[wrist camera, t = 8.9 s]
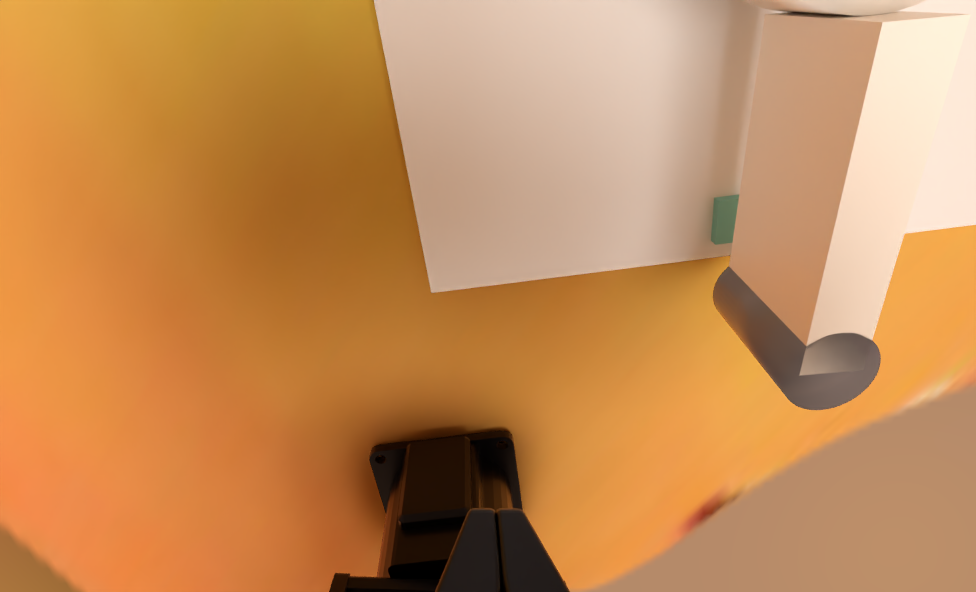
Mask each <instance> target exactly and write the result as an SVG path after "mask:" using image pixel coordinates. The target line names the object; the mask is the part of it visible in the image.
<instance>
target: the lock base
mask: <svg viewBox="0 0 976 592" xmlns="http://www.w3.org/2000/svg"><path fill="white" fill-rule="evenodd" d="M374 4H375V9H376V14H377V20H378V25H379V30H380V35H381V40H382V45H383V50H384V55H385V60H386V65H387V70H388V75H389V81H390V86H391V91H392V96H393V101H394V106H395V111H396V116H397V121H398V126H399V131H400V136H401V141H402V147H403V152H404V157H405V162H406V167H407V172H408V177H409V182H410V187H411V192H412V197H413V202H414V207H415V213H416V218H417V223H418V228H419V233H420V238H421V243H422V248H423V253H424V258H425V263H426V268H427V273H428V279H429V284H430V289H431V293H436V292H444V291H452V290H460V289H468V288H475V287H483V286H491V285H499V284H507V283H515V282H523V281H531V280H539V279H547V278H555V277H563V276H571V275H579V274H587V273H595V272H603V271H611V270H619V269H627V268H635V267H642V266H650V265H658V264H666V263H674V262H682V261H690V260H698V259H706V258H714V257H722V256H730V255H731V249H732V242H733V235H734V228H735V221H736V214H737V207H738V200H739V193H740V186H741V179H742V172H743V165H744V158H745V151H746V144H747V137H748V130H749V123H750V116H751V109H752V102H753V95H754V88H755V81H756V74H757V67H758V60H759V53H760V46H761V39H762V32H763V25H764V18H765V14H772V13H783V12H781V11H774V10H767V9H763V8H760V7H757V6H753V5H751V4H749V3H747V2H745V1H743V0H374ZM898 11H907V12H931V13H956V14H971V16H970V19H969V22H968V26H967V29H966V32H965V35H964V39H963V42H962V45H961V49H960V52H959V55H958V59H957V62H956V65H955V68H954V72H953V75H952V78H951V82H950V85H949V88H948V92H947V95H946V98H945V101H944V105H943V108H942V111H941V115H940V118H939V121H938V124H937V128H936V131H935V134H934V138H933V141H932V144H931V148H930V151H929V154H928V157H927V161H926V164H925V167H924V171H923V174H922V177H921V181H920V184H919V187H918V190H917V194H916V197H915V200H914V204H913V207H912V210H911V214H910V217H909V220H908V223H907V227H906V230H905V233H913V232H921V231H929V230H937V229H945V228H953V227H961V226H969V225H976V0H926V1H924V2H921V3H919V4H917V5H914V6H912V7H908V8H905V9H902V10H898ZM905 233H904V234H905Z"/></svg>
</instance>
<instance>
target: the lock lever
mask: <svg viewBox="0 0 976 592" xmlns="http://www.w3.org/2000/svg"><path fill="white" fill-rule="evenodd" d="M743 1H745V2H747V3H749V4H751V5H753V6H757V7H760V8H763V9H767V10H774V11H781V12H783V13H772V14H765V18H764V25H763V32H762V39H761V46H760V53H759V60H758V67H757V74H756V81H755V88H754V95H753V102H752V109H751V116H750V123H749V130H748V137H747V144H746V151H745V158H744V165H743V172H742V179H741V186H740V193H739V200H738V207H737V214H736V221H735V228H734V235H733V242H732V249H731V256H730V263H729V267H728V268H727V269H726V270H725V271H724V272H723V273H722V274H721V275H720V277H719V278H718V280H717V282H716V284H715V287H714V291H713V301H714V305H715V307H716V309H717V310H718V311H719V313H720V314H721V315H722V316H723V318H724V319H725V320H726V322H727V323H728V324H729V325H730V327H731V328H732V329H733V330H734V332H735V333H736V334H737V335H738V337H739V338H740V339H741V340H742V342H743V343H744V344H745V345H746V347H747V348H748V349H749V350H750V352H751V353H752V354H753V355H754V357H755V358H756V359H757V361H758V362H759V363H760V364H761V366H762V367H763V368H764V369H765V371H766V372H767V373H768V374H769V376H770V377H771V378H772V379H773V381H774V382H775V383H776V384H777V386H778V387H779V388H780V389H781V391H782V392H783V393H784V394H785V396H786V397H787V398H788V399H789V400H790V401H791V402H792V403H793V404H795V405H796V406H798V407H801V408H804V409H809V410H823V409H829V408H834V407H837V406H840V405H842V404H844V403H847V402H848V401H850V400H852V399H854V398H855V397H857V396H858V395H859V394H861V393H862V392H863V391H864V390H865V389H866V388H867V387H868V386H869V385H870V384H871V382H872V381H873V380H874V378H875V376H876V375H877V372H878V370H879V366H880V359H881V358H880V352H879V349H878V347H877V345H876V344H875V343H874V342H873V341H872V339H873V336H874V332H875V329H876V326H877V322H878V319H879V316H880V312H881V309H882V306H883V303H884V299H885V296H886V293H887V289H888V286H889V283H890V279H891V276H892V273H893V270H894V266H895V263H896V260H897V256H898V253H899V250H900V247H901V243H902V240H903V237H904V233H905V230H906V227H907V223H908V220H909V217H910V214H911V210H912V207H913V204H914V200H915V197H916V194H917V190H918V187H919V184H920V181H921V177H922V174H923V171H924V167H925V164H926V161H927V157H928V154H929V151H930V148H931V144H932V141H933V138H934V134H935V131H936V128H937V124H938V121H939V118H940V115H941V111H942V108H943V105H944V101H945V98H946V95H947V92H948V88H949V85H950V82H951V78H952V75H953V72H954V68H955V65H956V62H957V59H958V55H959V52H960V49H961V45H962V42H963V39H964V35H965V32H966V29H967V26H968V22H969V19H970V16H971V14H956V13H931V12H907V11H898V10H902V9H905V8H908V7H912V6H914V5H917V4H919V3H921V2H924V1H926V0H743Z"/></svg>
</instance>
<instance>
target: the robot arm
mask: <svg viewBox="0 0 976 592" xmlns="http://www.w3.org/2000/svg"><path fill="white" fill-rule="evenodd" d="M500 441H505V443H499V442H500ZM379 455H381V456H384V457H379ZM370 464H371V467H372V470H373V473H374V477H375V480H376V483H377V486H378V489H379V493H380V496H381V499H382V502H383V506H384V509H385V512H386V520H385V526H384V533H383V539H382V546H381V553H380V559H379V566H378V572H377V577H356V576H350V574H344V573H335V575H334V578H333V581H332V584H331V588H330V591H329V592H570V591H569V589H568V588H567V586H566V583H565V581H563V579H562V577H561V576H560V574H559V572H558V570H557V569H556V567H555V565H554V563H553V562H552V560H551V558H550V556H549V555H548V553H547V551H546V550H545V548H544V546H543V544H542V543H541V541H540V539H539V537H538V536H537V534H536V532H535V530H534V529H533V527H532V525H531V523H530V522H529V520H528V518H527V517H526V515H525V513H524V512H523V508H522V501H521V493H520V486H519V479H518V471H517V464H516V456H515V449H514V441H513V436H512V434H510V433H509V432H507V431H493V432H485V433H476V434H468V435H460V436H451V437H443V438H434V439H426V440H417V441H409V442H400V443H392V444H384V445H378V446H375V447H374V448H372V450H371V453H370Z"/></svg>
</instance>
